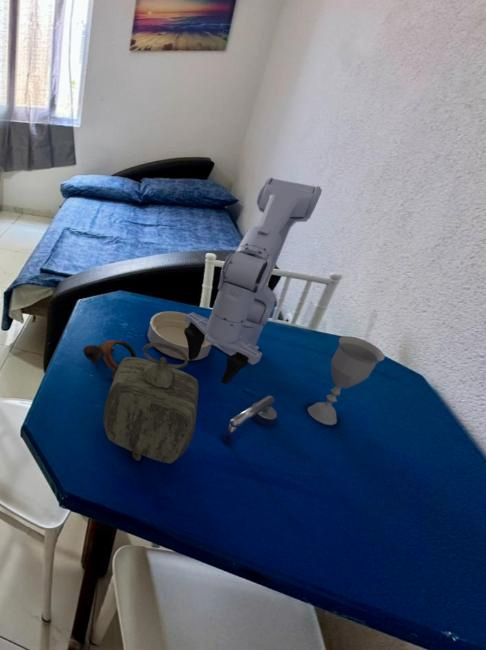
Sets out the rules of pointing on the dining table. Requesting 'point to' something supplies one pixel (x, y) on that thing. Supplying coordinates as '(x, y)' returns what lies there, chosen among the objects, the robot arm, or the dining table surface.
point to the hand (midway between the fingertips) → (208, 369)
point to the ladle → (253, 416)
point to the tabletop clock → (152, 407)
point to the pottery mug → (106, 353)
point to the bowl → (173, 334)
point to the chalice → (347, 373)
